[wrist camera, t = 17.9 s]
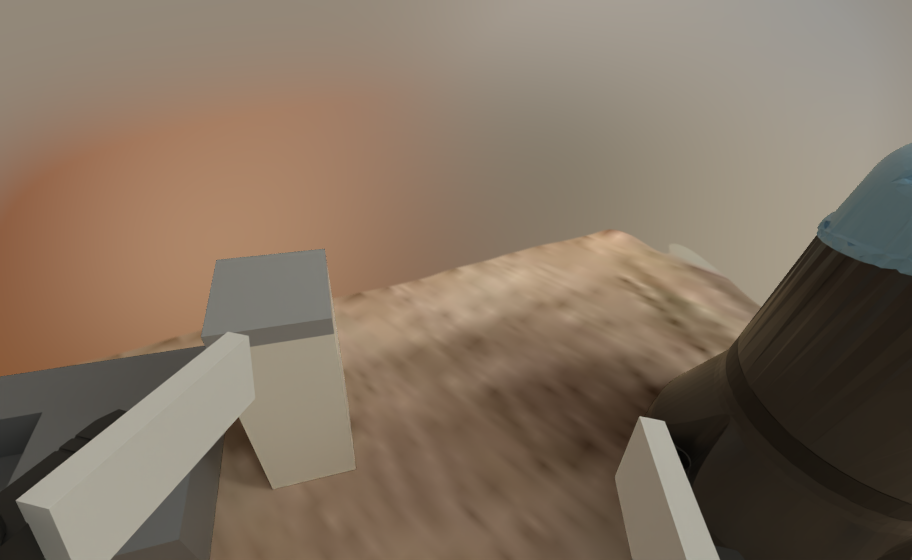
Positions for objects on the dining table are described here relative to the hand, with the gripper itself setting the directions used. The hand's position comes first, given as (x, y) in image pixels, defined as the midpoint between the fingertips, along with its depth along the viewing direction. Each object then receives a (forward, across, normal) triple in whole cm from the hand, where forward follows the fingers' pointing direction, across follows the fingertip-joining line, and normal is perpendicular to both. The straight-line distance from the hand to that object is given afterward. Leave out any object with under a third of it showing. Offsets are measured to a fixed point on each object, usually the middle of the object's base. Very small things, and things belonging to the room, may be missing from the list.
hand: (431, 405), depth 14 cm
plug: (+8, -9, -13) cm, 18 cm away
